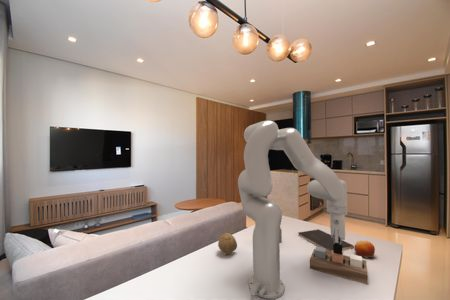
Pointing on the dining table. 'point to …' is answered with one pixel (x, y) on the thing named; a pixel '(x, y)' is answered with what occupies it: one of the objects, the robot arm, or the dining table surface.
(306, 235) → the hardcover book
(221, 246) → the natural sponge
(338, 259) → the terracotta key
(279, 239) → the architectural model on board
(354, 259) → the cream key
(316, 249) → the slate key
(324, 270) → the wooden key base
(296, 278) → the dining table surface
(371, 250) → the fruit
